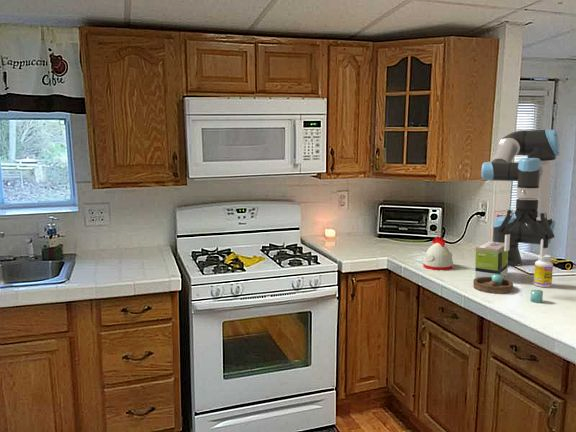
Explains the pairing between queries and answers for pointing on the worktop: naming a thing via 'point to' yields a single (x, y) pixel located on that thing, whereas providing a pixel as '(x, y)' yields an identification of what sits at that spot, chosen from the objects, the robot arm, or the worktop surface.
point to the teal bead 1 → (497, 279)
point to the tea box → (491, 259)
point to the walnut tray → (492, 285)
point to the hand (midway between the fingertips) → (524, 253)
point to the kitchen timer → (438, 256)
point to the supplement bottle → (543, 271)
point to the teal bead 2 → (536, 296)
